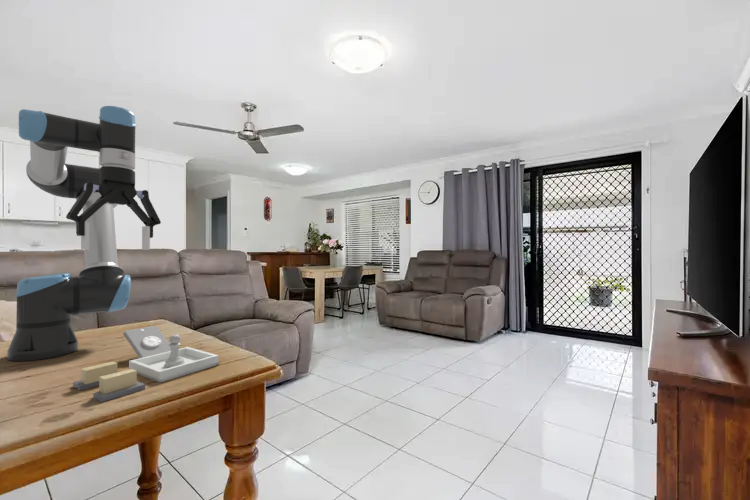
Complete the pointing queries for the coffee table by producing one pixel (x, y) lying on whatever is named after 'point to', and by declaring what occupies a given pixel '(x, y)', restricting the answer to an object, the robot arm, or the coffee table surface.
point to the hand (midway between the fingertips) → (117, 249)
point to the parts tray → (159, 373)
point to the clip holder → (109, 381)
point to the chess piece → (174, 353)
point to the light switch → (147, 341)
